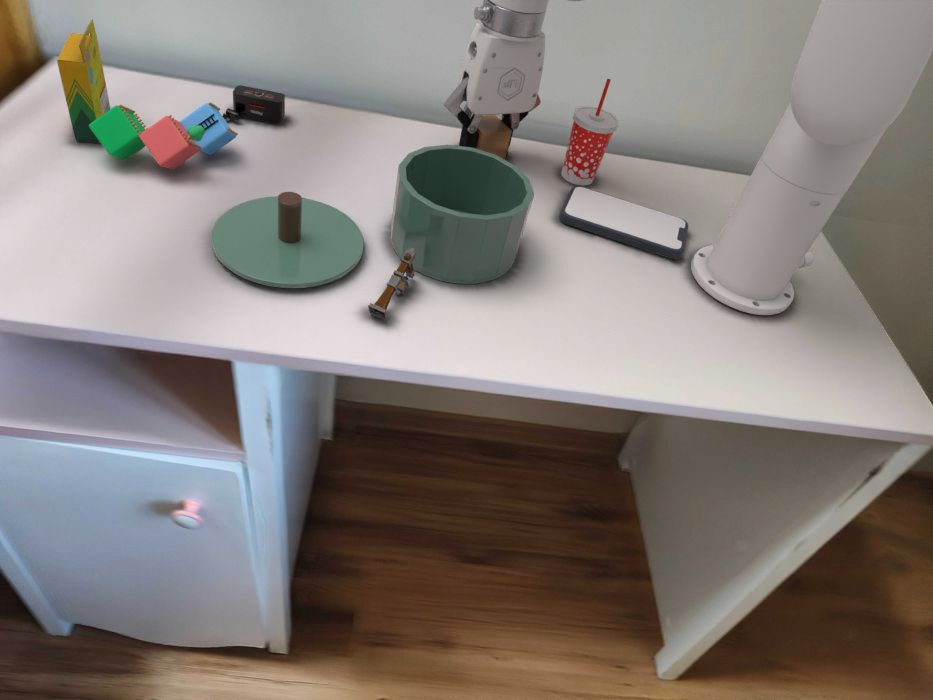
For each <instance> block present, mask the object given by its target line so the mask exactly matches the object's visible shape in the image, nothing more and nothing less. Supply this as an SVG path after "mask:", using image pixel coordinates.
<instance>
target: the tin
mask: <svg viewBox="0 0 933 700" xmlns="http://www.w3.org/2000/svg"><path fill="white" fill-rule="evenodd" d="M395 183H396V184H395V191H394V199H393V206H392V207H393V208H392V213H391V214H392V215H391V221H390V236H389V237H390V243H391V246H392V249H393V251H394V252H395V254H396V255H397V256H398V258H399V259H400V260H401V259H402V258H403V256H404V254H405V253H406V250H409V249H410V248H414V249H415V251H416V252H415V257H416V258H415V259H414V260H413V262H412V263H413V268H414V270H415V271H416V272H418V273H420V274H422V275H424V276H425V277H430V278H431V279H433V280H437V281H441V282H445V283H449V284H459V285H477V284H483V283H487V282H492V281H494V280H497V279H499V278H501V277H502V276H504V275H505V274H506V273H508V272H509V271H510V269H511V268H512V266H513V265H514V263H515V261H516V257H517V255H518V252H519V249H520V245H521V241H522V238H523V234H524V231H525V227H526V225H527V221H528V218H529V214H530V211H531V207H532V203H533V200H534V196H535V193H534V190H533V185H532V182H531V180H530V179H529V177H528V176H526V175H525V173H524V172H523V171H521V169H520V168H519V167H518V166H517V165H515V164H514V163H511V162H510V161H508V160H506V159H505V160H504V159H502V158H501V157H499V156H497V155H494V154H491V153H488V152H485V151H482V150H479V149H475V148H471V147H463V146H459V145H454V144H441V145H431V146H428V145H427V146H423V147H421V148H418V149H416V150H413V151H411V152H409V153H408V154H406V155H405V157H404V158H403V159H402V160H401V162H400V163H399V164H398V168H397V175H396V182H395Z"/></svg>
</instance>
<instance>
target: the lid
mask: <svg viewBox="0 0 933 700" xmlns="http://www.w3.org/2000/svg"><path fill="white" fill-rule="evenodd" d="M364 246H365V245H364V237H363V234H362V231H361V229H360V228H359V226H358V225H357V223H356V222H355V221H354V220H353V219H352V218H351V217H349V216H348V215H347V214H345V213H344V212H343V211H341V210H339V209H338V208H336V207H333V206H332V205H330V204H327V203H324V202H321V201H319V200H315V199H310V198H305V197H302V196H301V194H299V193H297V192H296V191H295V192H294V191H283V192H281V193H278V195H275V196H265V197H259V198H254V199H250V200H247V201H244V202H242V203H239V204H237V205H235V206H233V207H231V208H230V209H228V210H226V211H225V212H224V213H223V214H221V216H220V217H219V218H218V219H217V220H216V222H215V223H214V225H213V228H212V231H211V247H212V250H213V252H214V254H215V255H216V257H217V259H218V261H220V263H221V264H222V265H223V266H224V267H225V268H227V270H230V272H232V273H234V274H235V275H237V276H238V277H241V278H242V279H245V280H248V281H250V282H252V283H256V284H259V285H262V286H268V287H274V288H281V289H305V288H313V287H318V286H323V285H326V284H329V283H332V282H334V281H337V280H339V279H341V278H342V277H344V276H347V275H348V274H349V273H350V272H352V271H353V270H354V268H355V267H356V266H357V265H358V264H359V262H360V261H361V259H362V256H363V253H364Z"/></svg>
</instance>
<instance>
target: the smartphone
mask: <svg viewBox="0 0 933 700" xmlns="http://www.w3.org/2000/svg"><path fill="white" fill-rule="evenodd" d="M558 219H559V221H560V222H561V223H563V224H564V225H567V226H570V227H574V228H577V229H579V230H581V231H582V230H583V231H585V232H588V233H591V234H595V235H598V236H601V237H604V238H607V239H610V240H613V241H616V242H619V243H621V244H625V245H628V246H631V247H635V248H637V249H641V250H644V251H646V252H650V253H653V254H655V255H660V256H662V257H666V258H669V259H672V260H677V259H681V257H682V256H683V253H684V251H685V247H686V241H687V236H688V231H689V223H688V222H687V221H686V220H685V219H684V218H681V217H679V216H675V215H673V214H670V213H666V212H663V211H660V210H656V209H653V208H651V207H648V206H645V205H641V204H638V203H635V202H631V201H628V200H626V199H622V198H619V197H616V196H613V195H610V194H607V193H603V192H601V191H596V190H594V189H590V188H588V187H585V186H582V185H574V186H573V187H571V188H570V190H569V193H568V195H567V197H566V198H565V201H564V203H563V205H562V207H561V209H560V213H559V218H558Z"/></svg>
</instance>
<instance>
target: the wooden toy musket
mask: <svg viewBox="0 0 933 700" xmlns="http://www.w3.org/2000/svg"><path fill="white" fill-rule="evenodd" d="M415 252H416V251H415V249H414V248H410V249H409V250H406V253H405V254H404V256H403V258H402V259H400V263H399V264H398V267H397V268H396V270H395V269H394V270H393V271H392V273H393V274H391V276H390V278H389V280H388V281H387V283H386V287H385V288H384V290H383V292H382V293H381V295H379V296H378V299H377V300H376V301H375V302H374V303H371V302H370V303H369V304H368V305H367V308H368V311H369V312H368V313H369V314H370V315H372V316H374V317H376V318H379V319H381V320H383V321H386V322H387V319H388V314H387V309H388V307H389V304H390V303H391V300H392V297H393V295H394V294H395V295H396V296H401V294H402V295H404V294H405V293H404V292H405V290H406V288H407V287H408V288H409V280H410V279H413V278H414V276H415V273H416V272H415V271H416V270H414V268H413V263H412V262H413V260H414V259H415V258H416V257H415ZM409 278H410V279H409Z"/></svg>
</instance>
